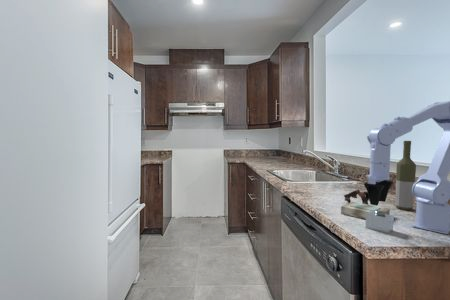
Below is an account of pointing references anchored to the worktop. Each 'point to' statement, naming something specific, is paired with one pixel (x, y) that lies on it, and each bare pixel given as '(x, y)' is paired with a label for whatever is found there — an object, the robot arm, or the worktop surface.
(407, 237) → the worktop surface
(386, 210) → the stand
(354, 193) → the broken clay pot shard
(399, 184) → the bottle
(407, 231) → the worktop surface
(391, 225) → the block
